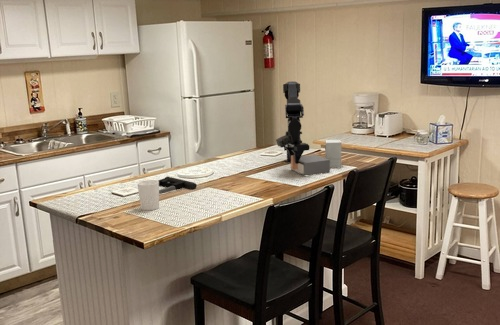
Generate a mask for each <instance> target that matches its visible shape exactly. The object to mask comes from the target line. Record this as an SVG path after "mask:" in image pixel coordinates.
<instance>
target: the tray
mask: <svg viewBox="0 0 500 325" xmlns="http://www.w3.org/2000/svg"><path fill="white" fill-rule="evenodd" d="M291 169H292V170H291ZM290 170H291V171H293V170H294V171H293V172H295V171H297V172H299V173H301V174H300V175H302V174H305V171H304V164H303V163H301V162H298V164H296V163H295V158H294V155H291V163H290ZM297 172H296V173H297ZM299 173H298V174H299Z"/></svg>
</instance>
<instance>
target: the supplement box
mask: <svg viewBox="0 0 500 325" xmlns="http://www.w3.org/2000/svg"><path fill="white" fill-rule="evenodd" d="M324 147H325V158H326V159H329V160H330V169H339V168H342V141H341V140H340V139H325V146H324Z"/></svg>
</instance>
